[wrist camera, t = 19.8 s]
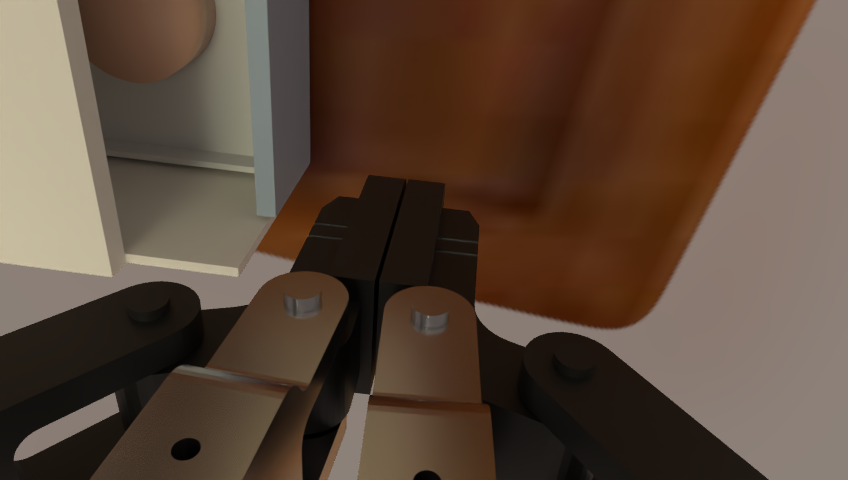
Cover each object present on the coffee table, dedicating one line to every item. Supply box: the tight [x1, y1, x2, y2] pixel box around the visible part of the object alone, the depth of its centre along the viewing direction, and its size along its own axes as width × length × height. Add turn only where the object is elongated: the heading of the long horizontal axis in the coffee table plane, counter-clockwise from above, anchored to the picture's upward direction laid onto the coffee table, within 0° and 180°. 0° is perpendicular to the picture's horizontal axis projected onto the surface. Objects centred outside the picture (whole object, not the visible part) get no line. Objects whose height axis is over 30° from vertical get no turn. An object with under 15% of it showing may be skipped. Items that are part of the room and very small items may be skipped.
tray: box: [89, 0, 310, 218], centre depth 26 cm, size 14×14×6 cm
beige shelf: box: [0, 0, 304, 277], centre depth 25 cm, size 16×15×12 cm
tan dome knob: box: [78, 0, 216, 83], centre depth 27 cm, size 6×6×2 cm
